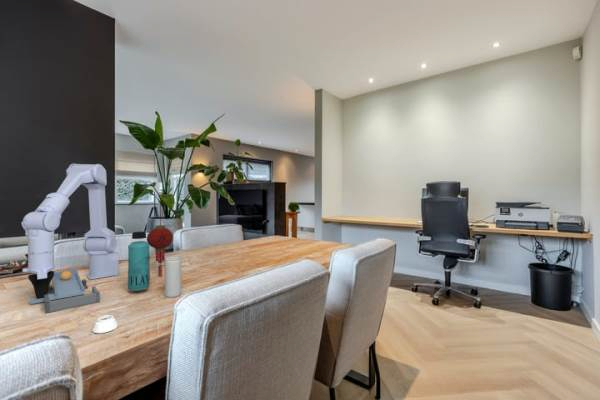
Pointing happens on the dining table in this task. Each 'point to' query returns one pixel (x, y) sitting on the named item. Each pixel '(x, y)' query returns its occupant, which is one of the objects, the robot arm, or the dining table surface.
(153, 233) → the lantern
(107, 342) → the dining table surface
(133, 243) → the beverage bottle
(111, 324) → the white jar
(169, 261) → the beverage can
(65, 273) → the ball
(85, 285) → the stand
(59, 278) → the blue-grey piece
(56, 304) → the dish
